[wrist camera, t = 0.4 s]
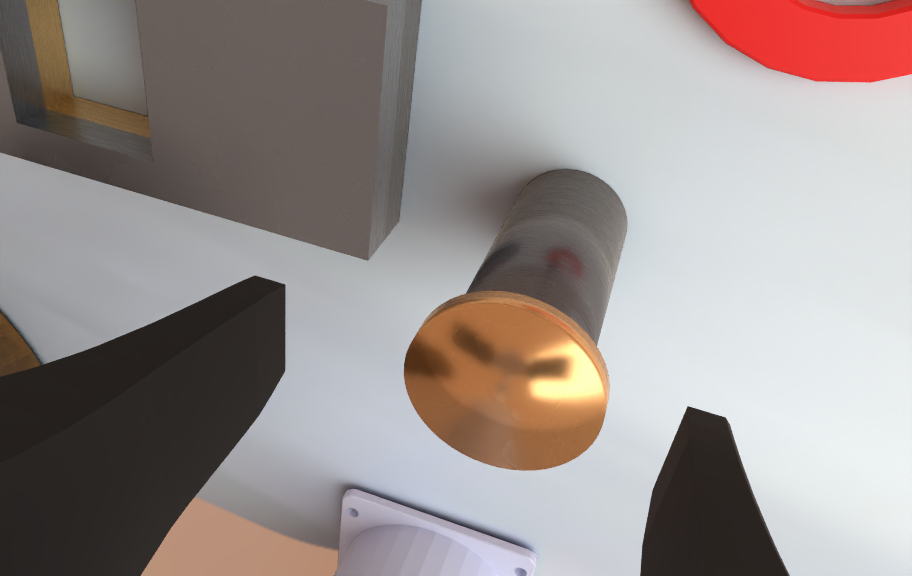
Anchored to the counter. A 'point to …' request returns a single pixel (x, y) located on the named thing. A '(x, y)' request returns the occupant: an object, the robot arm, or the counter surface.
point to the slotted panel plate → (234, 111)
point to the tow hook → (817, 36)
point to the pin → (526, 332)
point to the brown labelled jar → (14, 350)
